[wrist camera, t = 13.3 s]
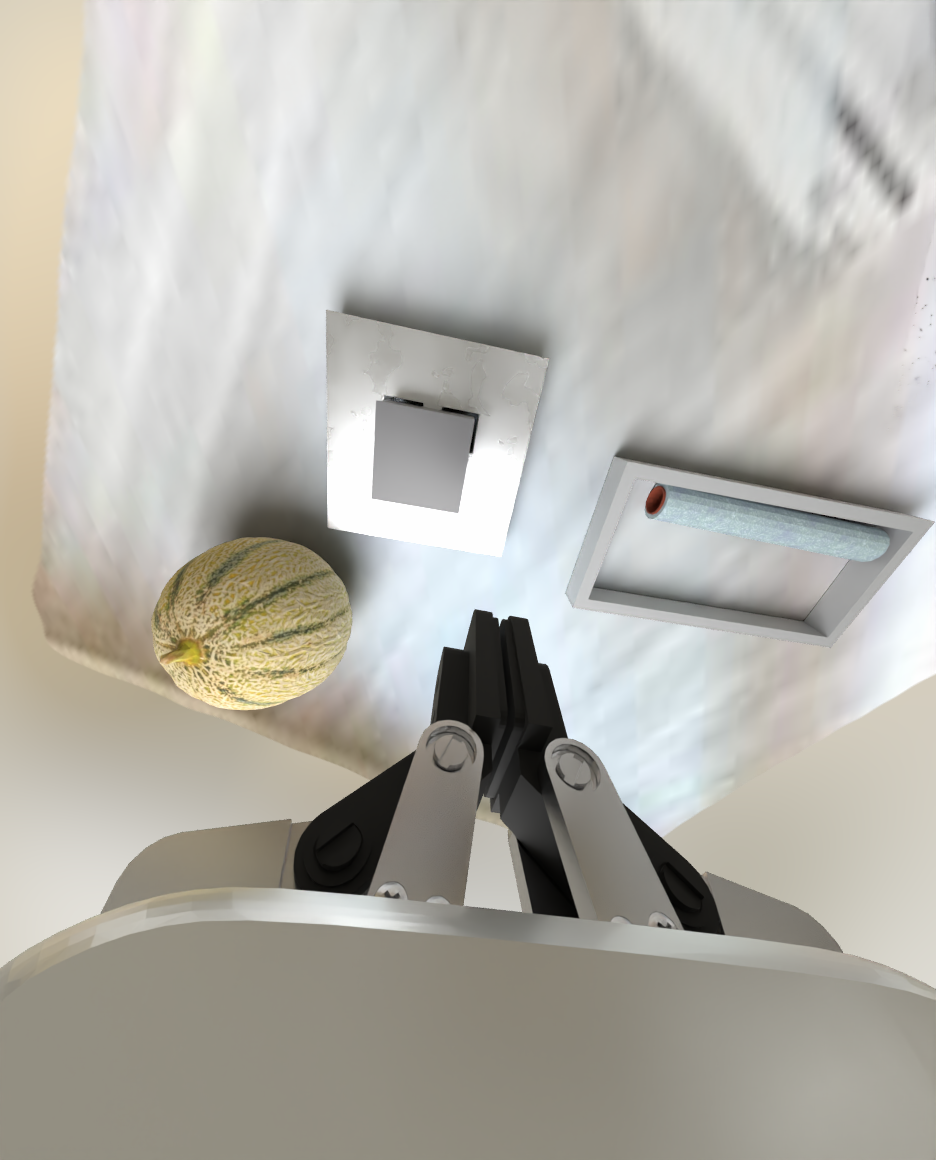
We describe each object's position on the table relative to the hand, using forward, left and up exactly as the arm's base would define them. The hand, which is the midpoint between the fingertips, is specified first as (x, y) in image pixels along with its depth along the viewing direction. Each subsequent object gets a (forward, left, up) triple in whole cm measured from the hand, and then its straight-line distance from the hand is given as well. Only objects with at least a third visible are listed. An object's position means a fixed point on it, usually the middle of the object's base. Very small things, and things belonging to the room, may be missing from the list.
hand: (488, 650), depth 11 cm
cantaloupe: (+13, -16, -24) cm, 32 cm away
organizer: (+2, +27, -24) cm, 36 cm away
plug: (-3, -4, -24) cm, 25 cm away
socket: (-3, -4, -24) cm, 25 cm away
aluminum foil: (-3, +28, -25) cm, 37 cm away
